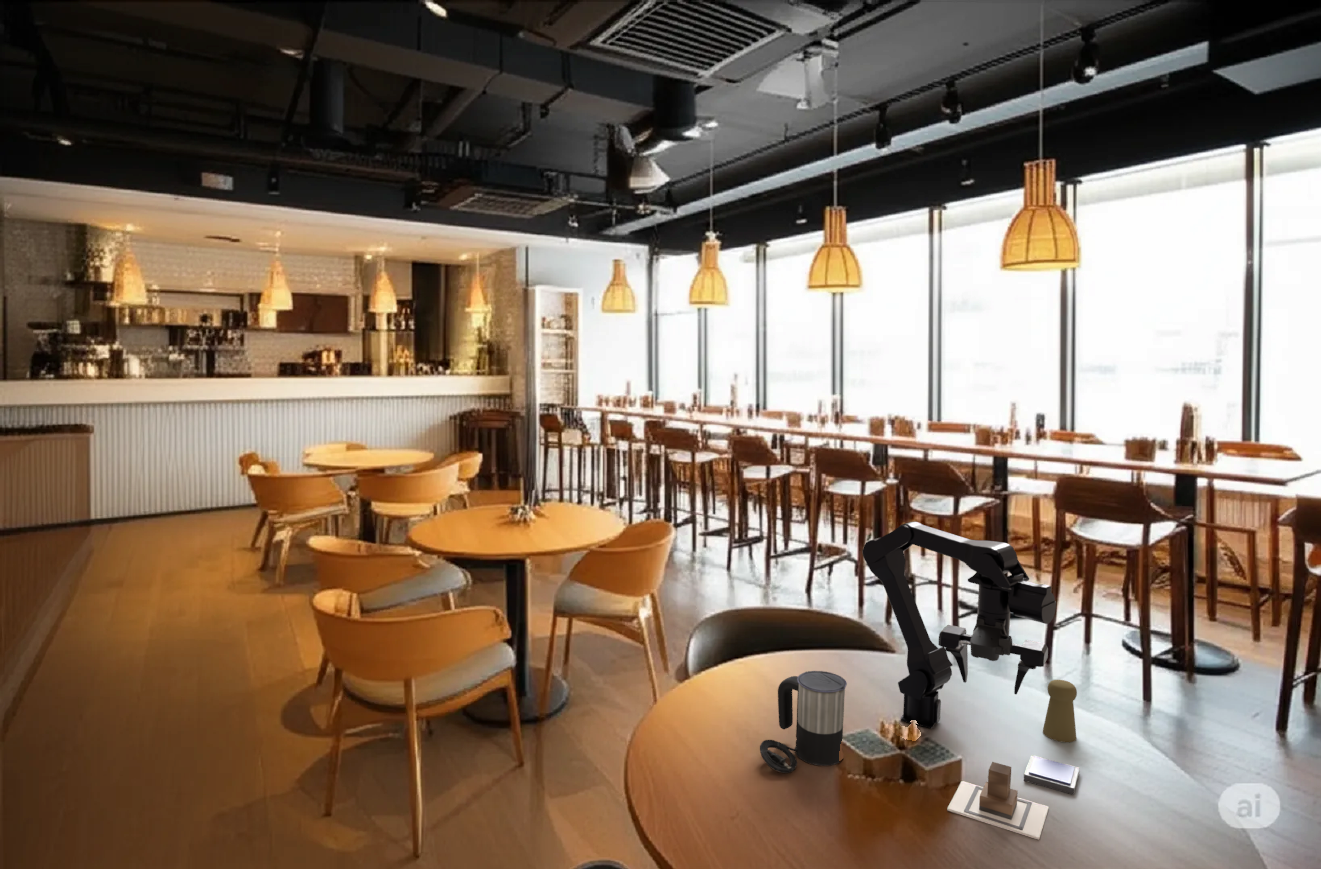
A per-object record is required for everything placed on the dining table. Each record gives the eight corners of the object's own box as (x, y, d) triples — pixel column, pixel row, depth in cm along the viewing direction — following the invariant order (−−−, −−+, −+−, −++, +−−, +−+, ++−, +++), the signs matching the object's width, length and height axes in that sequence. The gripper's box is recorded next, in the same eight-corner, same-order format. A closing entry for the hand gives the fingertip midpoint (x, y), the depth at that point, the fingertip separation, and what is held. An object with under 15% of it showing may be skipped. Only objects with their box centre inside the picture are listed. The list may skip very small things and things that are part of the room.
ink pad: (1023, 780, 139) (1024, 772, 139) (1031, 760, 146) (1031, 753, 146) (1073, 794, 135) (1074, 786, 135) (1079, 773, 142) (1079, 766, 141)
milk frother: (849, 748, 151) (851, 675, 149) (829, 790, 137) (831, 709, 135) (778, 732, 157) (780, 662, 155) (752, 770, 143) (753, 693, 141)
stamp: (979, 809, 130) (980, 770, 129) (985, 795, 134) (987, 757, 133) (1011, 819, 127) (1013, 779, 126) (1016, 805, 131) (1018, 765, 130)
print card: (947, 810, 130) (947, 807, 130) (961, 782, 139) (961, 779, 139) (1039, 839, 123) (1039, 836, 123) (1048, 808, 131) (1048, 805, 131)
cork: (1080, 743, 152) (1084, 690, 151) (1047, 740, 153) (1050, 687, 152) (1070, 728, 158) (1074, 677, 157) (1039, 726, 159) (1041, 674, 158)
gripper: (932, 611, 147) (929, 690, 148) (1041, 632, 136) (1036, 716, 138) (947, 596, 156) (944, 670, 158) (1050, 614, 145) (1045, 693, 147)
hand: (990, 687), depth 150 cm, fingers open, 9 cm apart
